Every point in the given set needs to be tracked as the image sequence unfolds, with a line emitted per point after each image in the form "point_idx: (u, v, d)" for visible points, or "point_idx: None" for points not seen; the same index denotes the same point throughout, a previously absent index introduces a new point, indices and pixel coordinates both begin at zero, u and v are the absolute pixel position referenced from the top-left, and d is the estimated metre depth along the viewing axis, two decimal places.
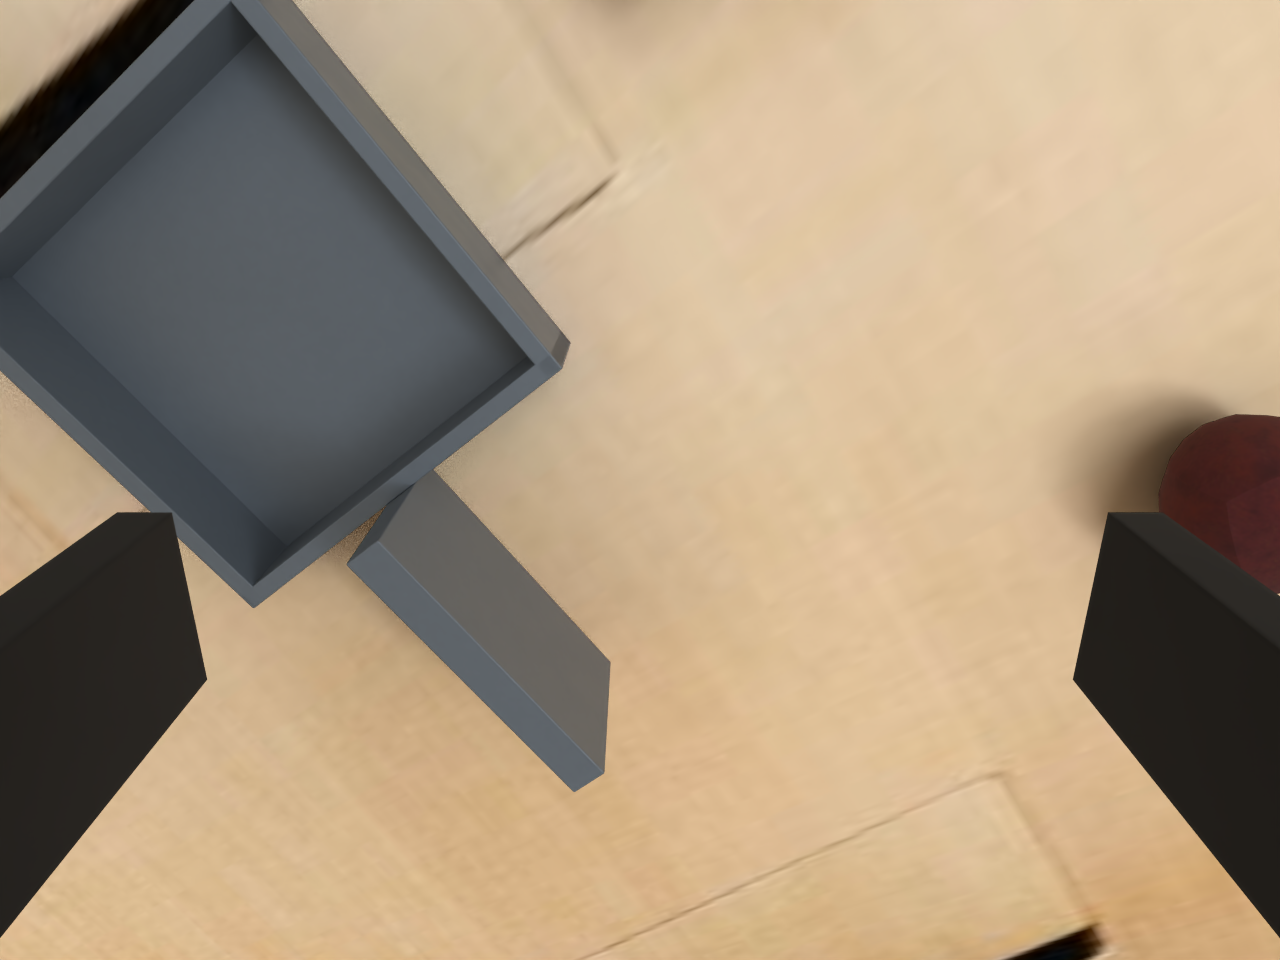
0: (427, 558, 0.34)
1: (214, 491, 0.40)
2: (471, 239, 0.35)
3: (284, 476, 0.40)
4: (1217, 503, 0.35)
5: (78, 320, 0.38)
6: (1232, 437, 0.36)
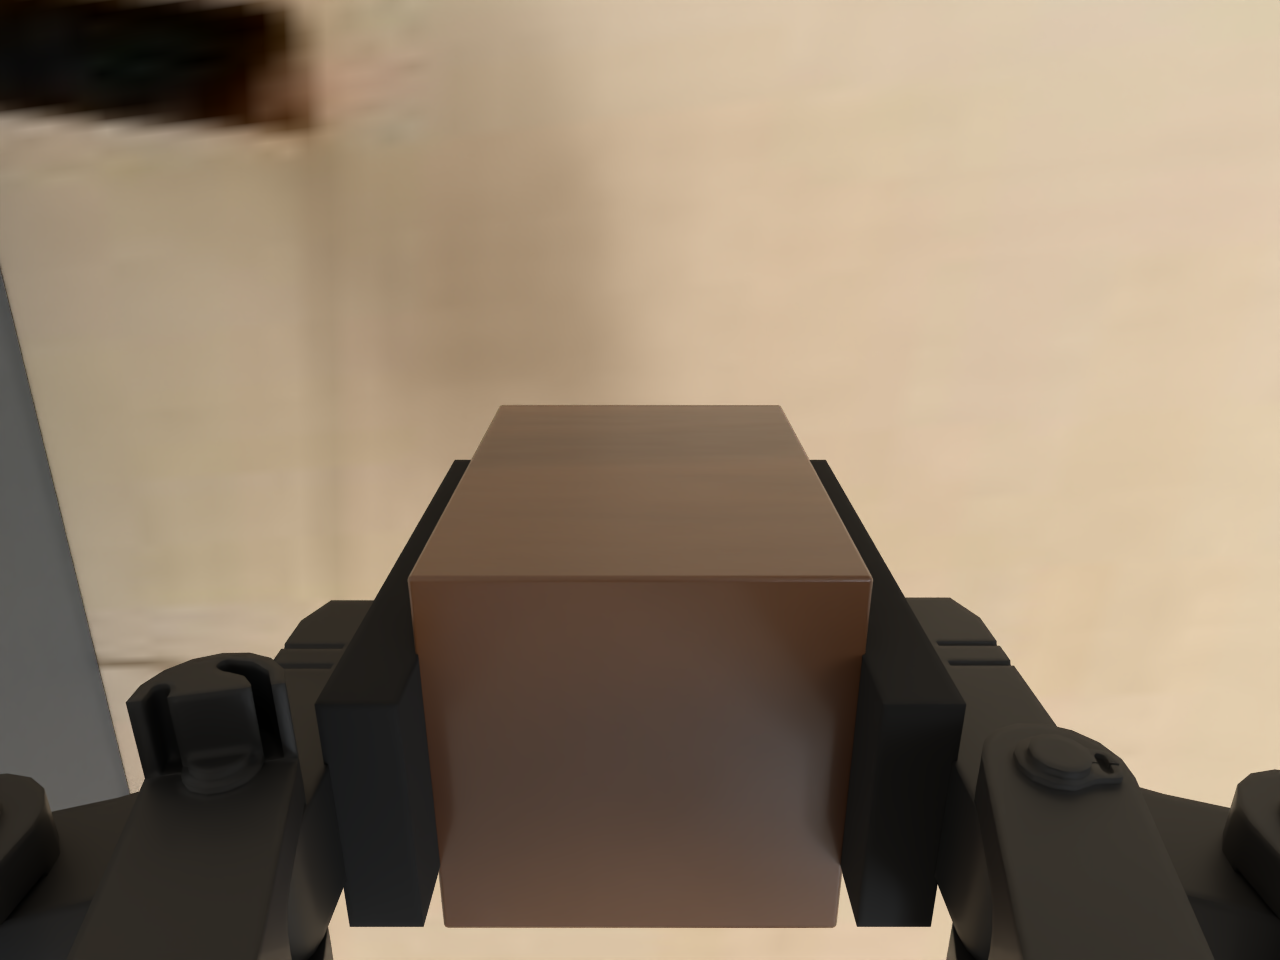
0: None
1: None
2: (26, 672, 0.20)
3: None
4: None
5: None
6: None
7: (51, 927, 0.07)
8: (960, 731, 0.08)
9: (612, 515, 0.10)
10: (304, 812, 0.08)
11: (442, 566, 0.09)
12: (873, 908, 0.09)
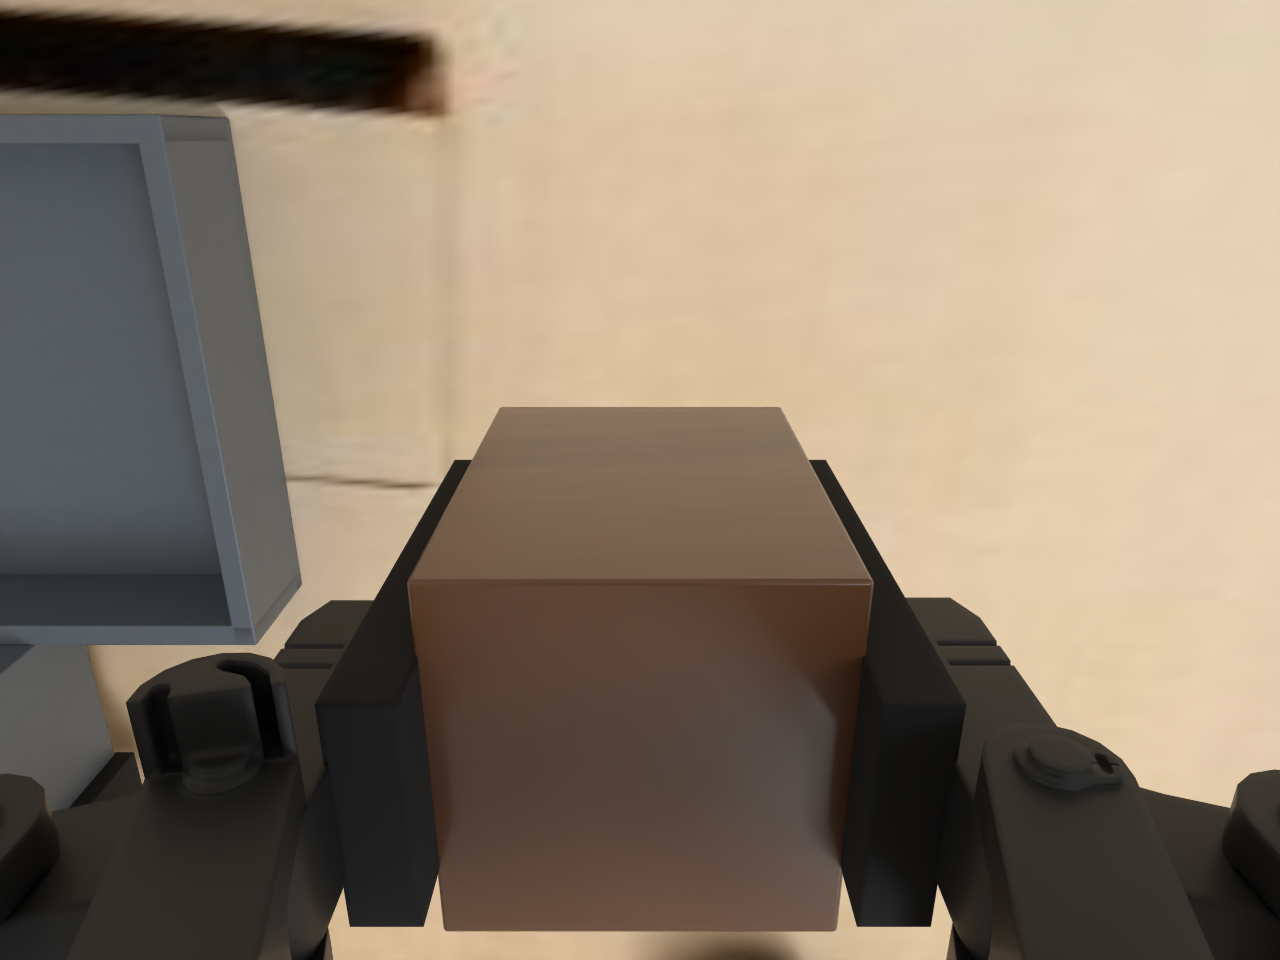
0: None
1: None
2: (254, 469, 0.31)
3: None
4: None
5: None
6: None
7: (51, 927, 0.07)
8: (960, 731, 0.08)
9: (612, 517, 0.10)
10: (304, 813, 0.08)
11: (442, 569, 0.09)
12: (873, 907, 0.09)
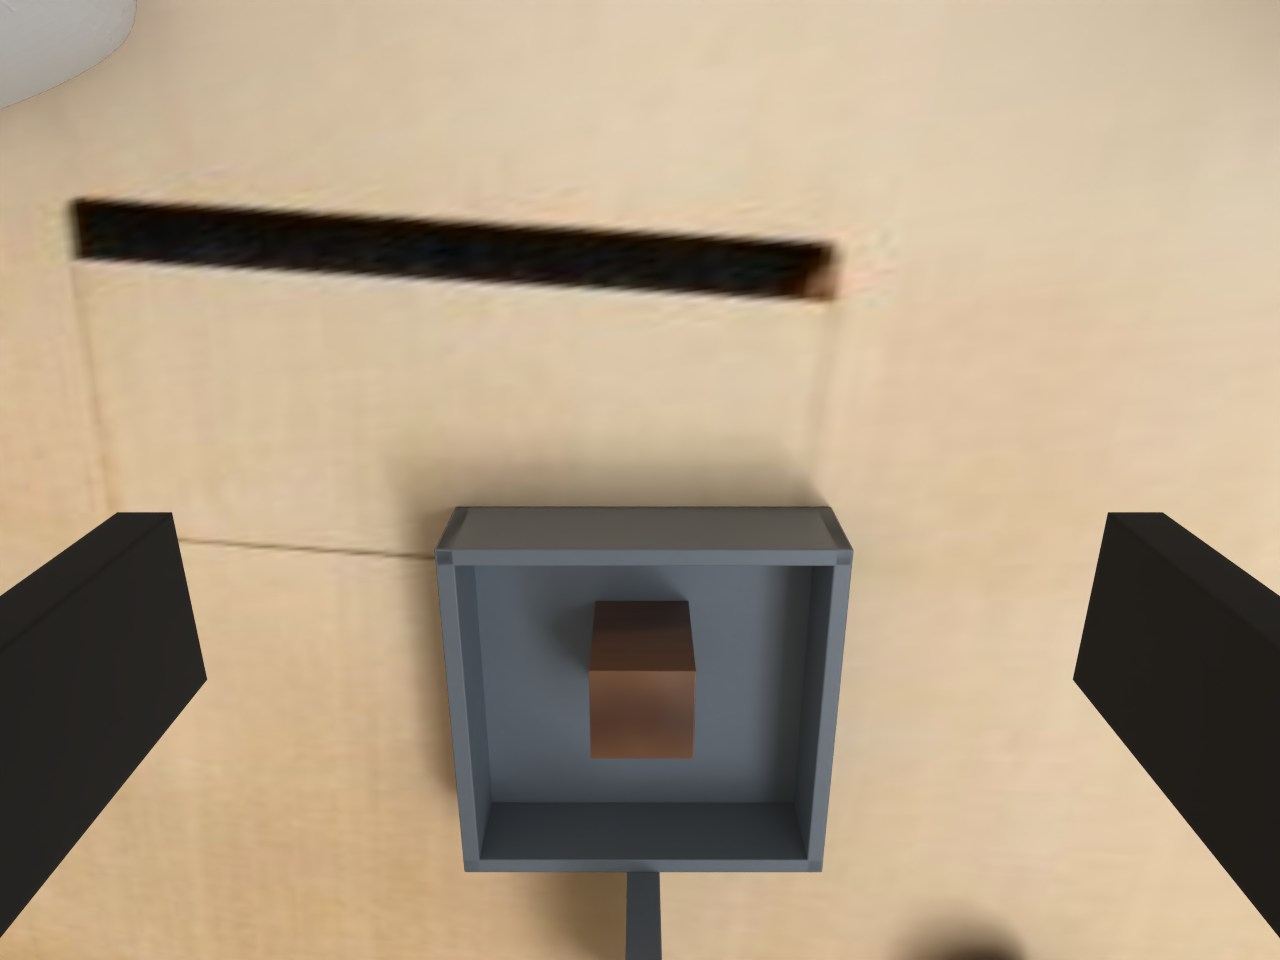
0: None
1: (484, 751, 0.44)
2: None
3: (537, 763, 0.46)
4: None
5: (491, 583, 0.42)
6: None
7: None
8: None
9: (634, 651, 0.38)
10: None
11: (595, 667, 0.37)
12: None
